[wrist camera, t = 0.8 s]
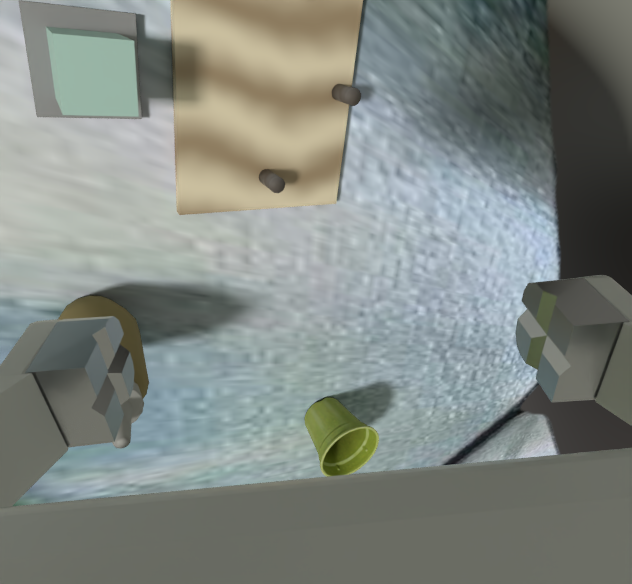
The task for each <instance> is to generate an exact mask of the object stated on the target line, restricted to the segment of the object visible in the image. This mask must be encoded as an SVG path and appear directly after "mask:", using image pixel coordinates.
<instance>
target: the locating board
mask: <svg viewBox="0 0 632 584" xmlns="http://www.w3.org/2000/svg"><path fill="white" fill-rule="evenodd" d="M362 4H363V0H171V33H172V66H173V99H174V132H175V165H176V198H177V212H178V214H179V215H185V214H199V213H213V212H227V211H241V210H255V209H268V208H282V207H296V206H310V205H324V204H336V200H337V193H338V185H339V178H340V170H341V163H342V155H343V147H344V140H345V132H346V125H347V117H348V110H349V105H351V106H355V105H357V104H358V103H359V101H360V99H361V93H360V91H359V90H358V89H356V88H353V87H352V79H353V72H354V64H355V57H356V49H357V42H358V34H359V27H360V19H361V12H362Z"/></svg>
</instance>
